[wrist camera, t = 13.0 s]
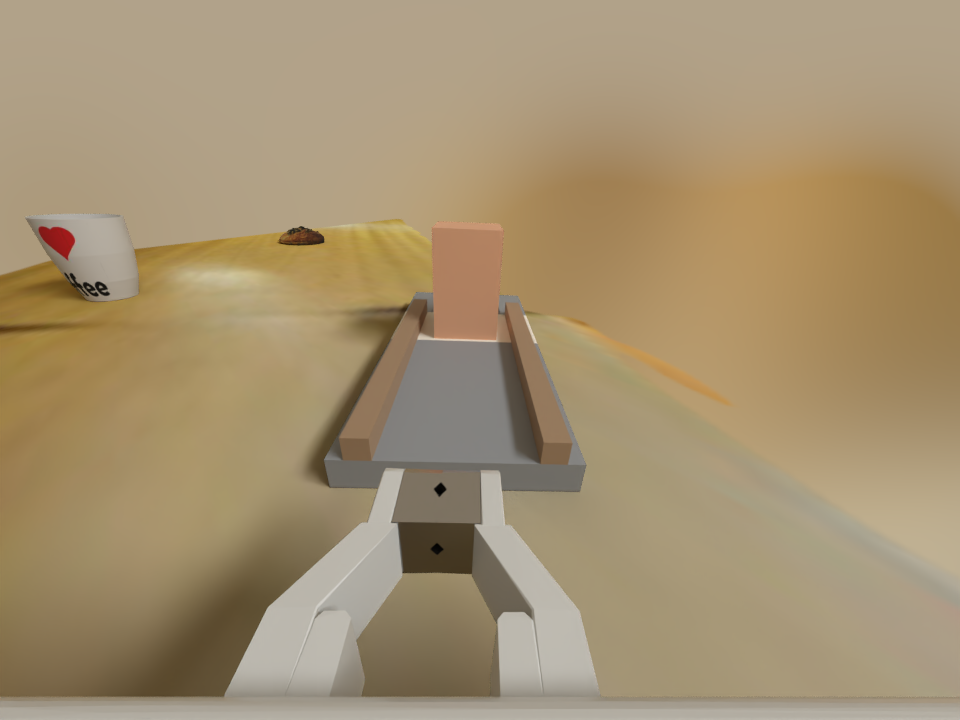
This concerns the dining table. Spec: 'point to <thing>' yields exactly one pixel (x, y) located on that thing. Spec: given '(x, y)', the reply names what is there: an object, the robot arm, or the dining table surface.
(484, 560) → the robot arm
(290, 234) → the bread roll
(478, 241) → the block
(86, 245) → the cup
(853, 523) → the dining table surface
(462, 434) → the tray
